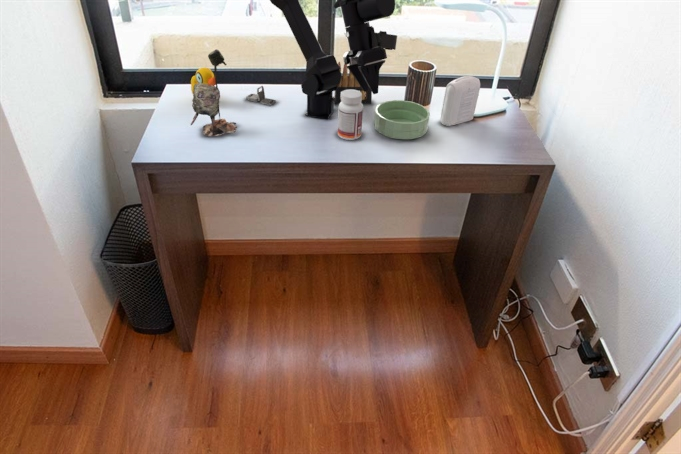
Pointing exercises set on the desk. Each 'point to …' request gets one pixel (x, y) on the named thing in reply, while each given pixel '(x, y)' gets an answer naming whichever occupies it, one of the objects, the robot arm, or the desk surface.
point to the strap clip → (260, 97)
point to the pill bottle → (350, 115)
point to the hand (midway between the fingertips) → (370, 92)
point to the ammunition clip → (351, 87)
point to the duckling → (203, 77)
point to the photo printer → (460, 100)
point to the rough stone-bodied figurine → (211, 102)
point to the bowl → (401, 119)
